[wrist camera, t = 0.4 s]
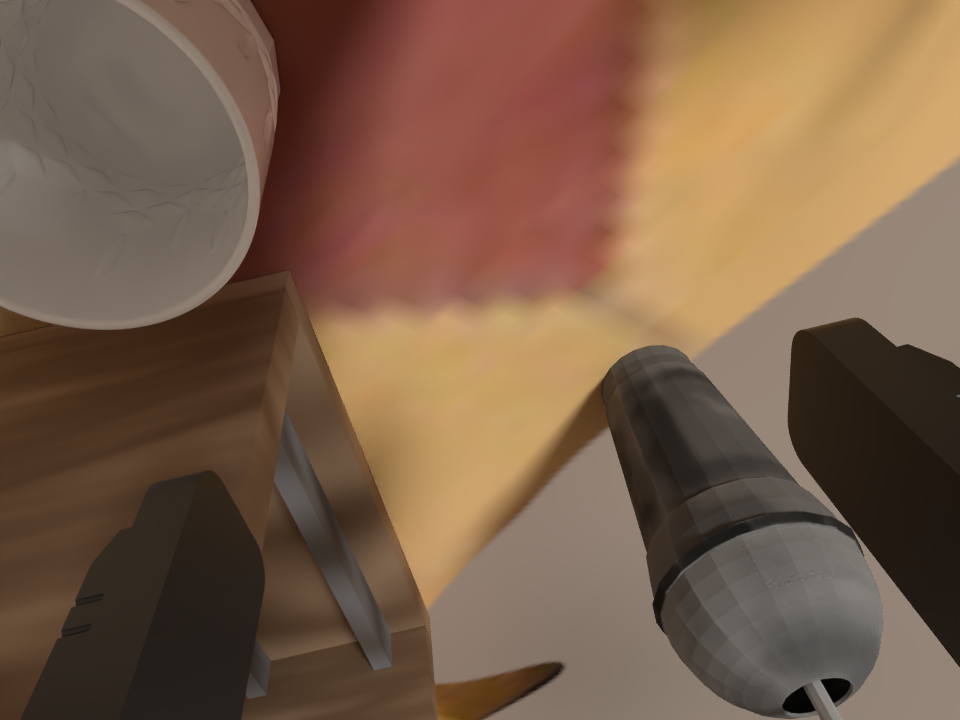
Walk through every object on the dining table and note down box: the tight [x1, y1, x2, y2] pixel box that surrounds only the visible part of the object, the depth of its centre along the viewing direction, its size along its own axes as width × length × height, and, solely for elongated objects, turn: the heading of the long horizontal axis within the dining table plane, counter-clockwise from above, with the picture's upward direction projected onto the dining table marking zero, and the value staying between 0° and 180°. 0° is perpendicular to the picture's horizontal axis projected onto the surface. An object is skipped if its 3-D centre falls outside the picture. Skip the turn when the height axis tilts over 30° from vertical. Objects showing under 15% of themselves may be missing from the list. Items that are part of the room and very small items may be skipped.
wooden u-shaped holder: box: [0, 270, 437, 720], centre depth 27 cm, size 24×12×18 cm, turn 11°
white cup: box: [0, 0, 280, 330], centre depth 18 cm, size 8×8×10 cm
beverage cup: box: [601, 345, 883, 720], centre depth 25 cm, size 7×7×20 cm
